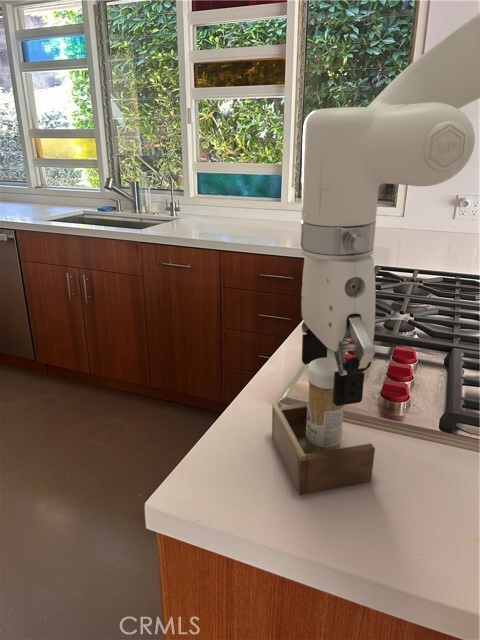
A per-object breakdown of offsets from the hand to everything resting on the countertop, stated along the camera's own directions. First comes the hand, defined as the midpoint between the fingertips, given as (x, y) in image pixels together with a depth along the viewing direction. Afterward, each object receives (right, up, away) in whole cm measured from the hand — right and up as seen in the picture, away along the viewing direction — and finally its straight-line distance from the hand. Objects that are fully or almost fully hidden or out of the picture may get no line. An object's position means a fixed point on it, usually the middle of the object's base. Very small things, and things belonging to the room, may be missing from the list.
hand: (329, 380), depth 55 cm
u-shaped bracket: (0, -10, +4) cm, 11 cm away
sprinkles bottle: (0, -11, +4) cm, 12 cm away
